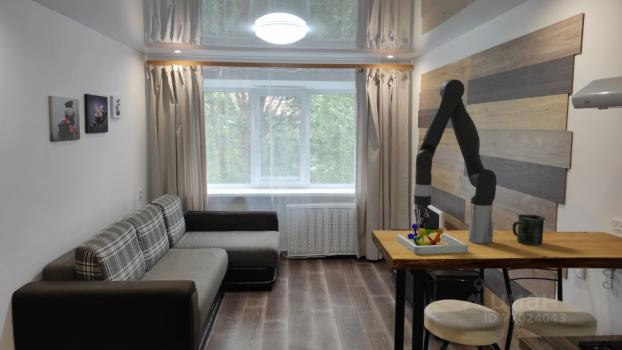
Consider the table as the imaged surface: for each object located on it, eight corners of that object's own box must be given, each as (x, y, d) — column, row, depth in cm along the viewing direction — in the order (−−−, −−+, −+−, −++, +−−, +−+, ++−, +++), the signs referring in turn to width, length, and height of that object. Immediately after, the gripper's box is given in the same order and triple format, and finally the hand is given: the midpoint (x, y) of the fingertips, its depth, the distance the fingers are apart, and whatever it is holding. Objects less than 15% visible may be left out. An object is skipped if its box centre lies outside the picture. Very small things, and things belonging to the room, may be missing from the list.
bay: (444, 239, 201) (444, 233, 201) (467, 252, 181) (468, 245, 180) (397, 241, 197) (397, 234, 197) (415, 254, 177) (415, 247, 177)
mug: (549, 245, 193) (551, 218, 192) (520, 247, 190) (522, 219, 189) (531, 239, 204) (533, 213, 203) (504, 240, 201) (505, 215, 199)
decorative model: (437, 242, 181) (404, 228, 188) (433, 259, 185) (400, 244, 192) (448, 228, 190) (416, 216, 198) (443, 245, 194) (412, 232, 202)
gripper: (437, 196, 191) (435, 235, 193) (424, 191, 204) (423, 228, 206) (421, 196, 190) (419, 235, 192) (409, 192, 203) (407, 228, 205)
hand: (421, 231), depth 199 cm, fingers closed
